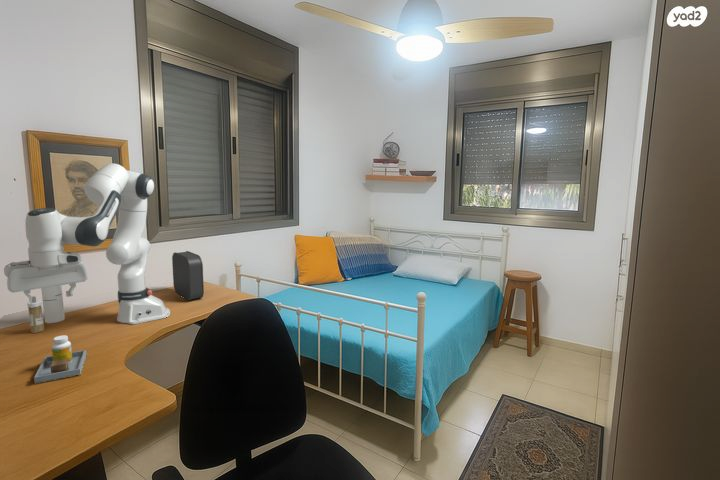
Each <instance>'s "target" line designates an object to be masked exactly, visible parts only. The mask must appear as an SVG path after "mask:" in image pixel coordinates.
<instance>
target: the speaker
mask: <svg viewBox="0 0 720 480" xmlns="http://www.w3.org/2000/svg"><path fill="white" fill-rule="evenodd" d="M171 257H172V258H171V261H172V265H171V266H172V278H173V279H172V280H173V282H172V283H173V289H174V292H175V293H177V294H176V295H178V296H179V295H180V296H179V297H181V296H182V297H184V298H185V300H186V299H187V300H186V301H188V300H189V301H191V300H196V299H202V298H203V297H204V294H205V293H204V292H205V288H204V287H205V286H204V265H203V260H202V258H201V256H200V255H199V254H196V253H194V252H191V251H188V250H186V251H181V252H173V253H172V256H171ZM182 297H181V298H182ZM184 298H183V299H184Z"/></svg>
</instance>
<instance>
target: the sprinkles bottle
mask: <svg viewBox="0 0 720 480" xmlns="http://www.w3.org/2000/svg"><path fill="white" fill-rule="evenodd" d="M42 306H43V302H42V300H39V299H36V303H30V302H29V301H28V302H27V308H28V309H27V310H28V318H29V325H30V333H33V334H38V333H41V332H43V331H45V326H44V317H43V316H44V315H43V314H44V313H43V310H42V309H43V307H42Z"/></svg>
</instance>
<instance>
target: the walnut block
mask: <svg viewBox="0 0 720 480" xmlns="http://www.w3.org/2000/svg"><path fill="white" fill-rule="evenodd" d="M50 367H51V374H52V373H57V372H63V371H68V370H69V367H68V359H63V360H58V361H53V362H52V364H51V366H50Z"/></svg>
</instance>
